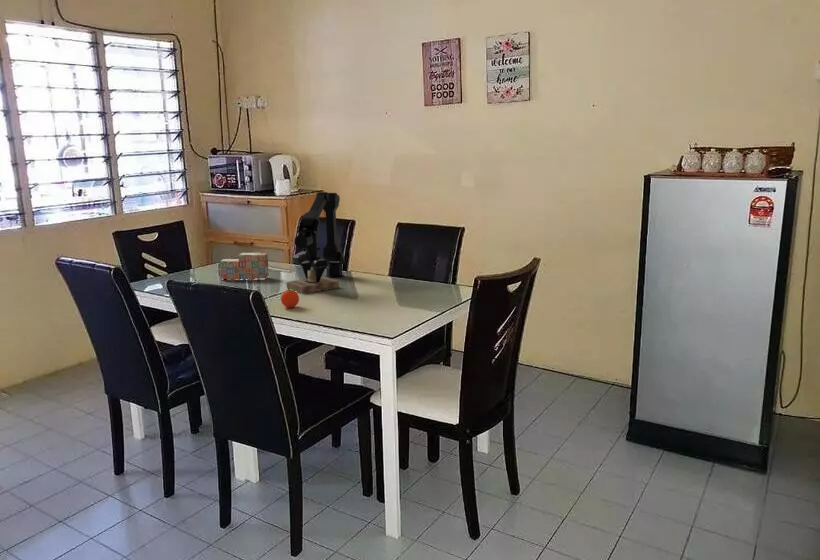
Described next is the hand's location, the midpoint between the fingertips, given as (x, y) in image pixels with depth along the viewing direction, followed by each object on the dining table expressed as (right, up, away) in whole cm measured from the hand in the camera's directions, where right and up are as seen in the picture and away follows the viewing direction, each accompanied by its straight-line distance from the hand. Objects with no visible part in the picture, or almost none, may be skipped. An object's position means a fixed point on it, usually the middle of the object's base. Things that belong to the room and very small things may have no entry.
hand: (312, 280), depth 285 cm
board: (0, -3, +1) cm, 4 cm away
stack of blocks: (-35, 0, +22) cm, 42 cm away
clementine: (-3, -11, -32) cm, 33 cm away
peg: (0, -3, +1) cm, 4 cm away
